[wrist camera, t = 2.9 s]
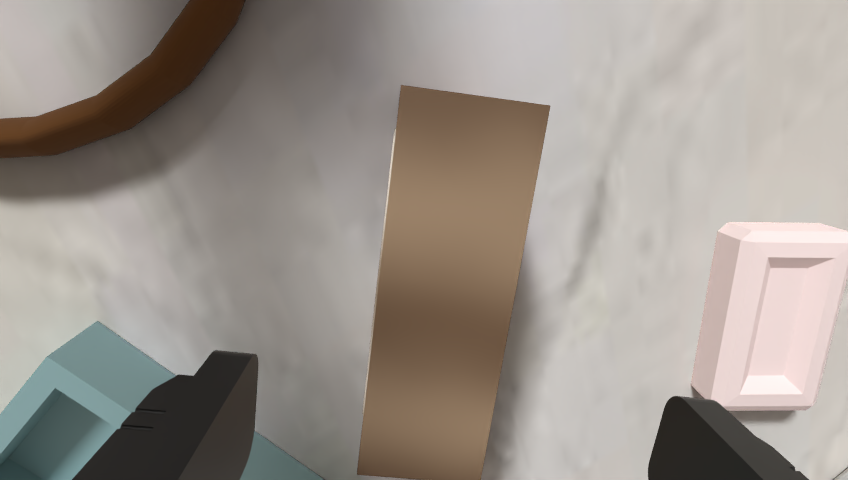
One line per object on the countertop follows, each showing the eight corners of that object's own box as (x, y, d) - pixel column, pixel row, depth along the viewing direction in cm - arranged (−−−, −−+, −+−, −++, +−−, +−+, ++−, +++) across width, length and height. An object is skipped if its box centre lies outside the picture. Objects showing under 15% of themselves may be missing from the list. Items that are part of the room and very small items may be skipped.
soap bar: (821, 221, 24) (866, 233, 22) (783, 387, 27) (819, 414, 24) (714, 220, 24) (748, 232, 22) (685, 387, 27) (713, 415, 24)
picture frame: (399, 93, 22) (399, 85, 13) (491, 106, 22) (551, 106, 13) (370, 345, 25) (355, 474, 16) (452, 353, 25) (481, 484, 16)
